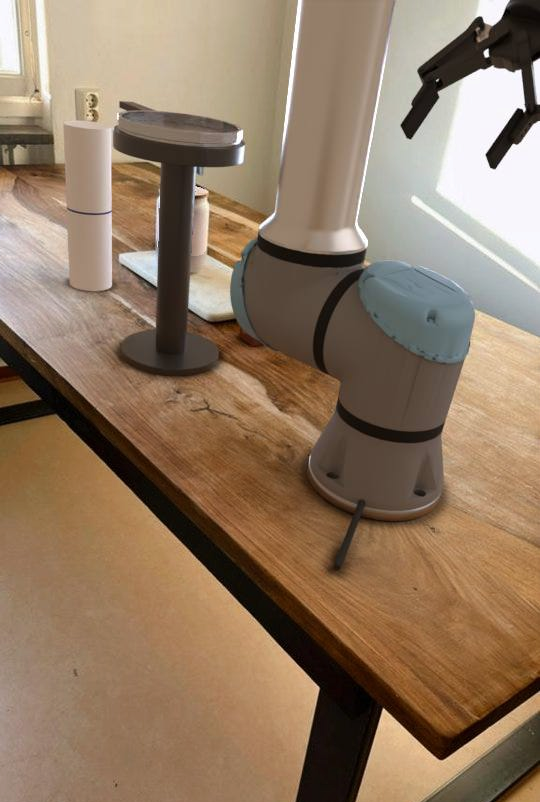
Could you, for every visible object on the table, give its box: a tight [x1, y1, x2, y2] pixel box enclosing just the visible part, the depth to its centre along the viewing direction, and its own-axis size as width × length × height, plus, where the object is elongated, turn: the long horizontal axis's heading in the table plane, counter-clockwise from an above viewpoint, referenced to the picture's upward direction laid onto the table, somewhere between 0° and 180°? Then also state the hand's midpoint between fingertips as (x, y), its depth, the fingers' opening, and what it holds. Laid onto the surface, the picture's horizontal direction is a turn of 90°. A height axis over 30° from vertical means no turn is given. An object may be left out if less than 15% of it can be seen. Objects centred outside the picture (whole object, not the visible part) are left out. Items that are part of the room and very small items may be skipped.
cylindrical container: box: [62, 119, 113, 292], centre depth 113 cm, size 7×7×25 cm
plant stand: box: [112, 100, 246, 377], centre depth 94 cm, size 16×23×30 cm
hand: (445, 147), depth 89 cm, fingers open, 13 cm apart
